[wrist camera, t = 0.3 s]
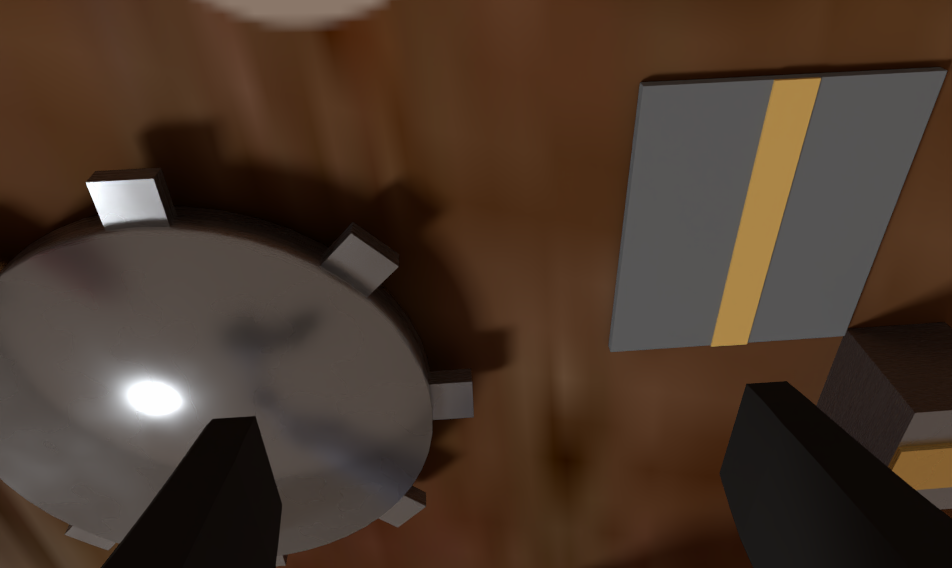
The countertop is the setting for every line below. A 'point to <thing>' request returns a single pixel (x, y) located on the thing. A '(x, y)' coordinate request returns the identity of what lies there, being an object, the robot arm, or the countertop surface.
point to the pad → (761, 203)
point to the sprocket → (211, 365)
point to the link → (898, 401)
